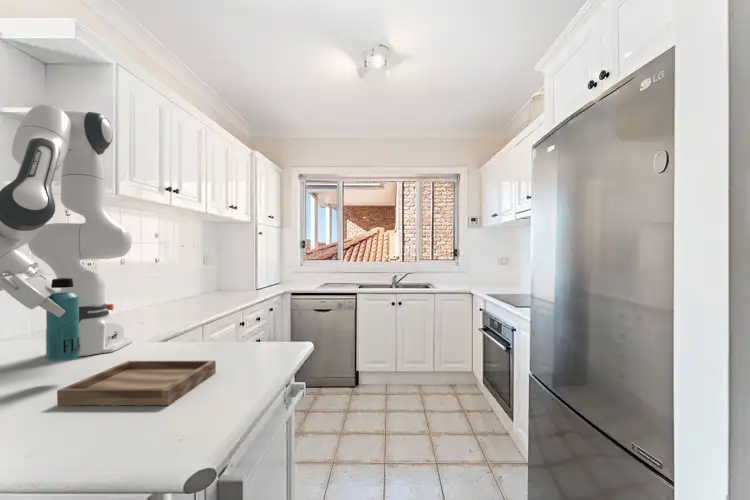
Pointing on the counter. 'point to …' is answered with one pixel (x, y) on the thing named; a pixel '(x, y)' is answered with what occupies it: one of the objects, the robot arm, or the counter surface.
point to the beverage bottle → (63, 324)
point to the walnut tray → (138, 383)
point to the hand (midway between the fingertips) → (66, 311)
